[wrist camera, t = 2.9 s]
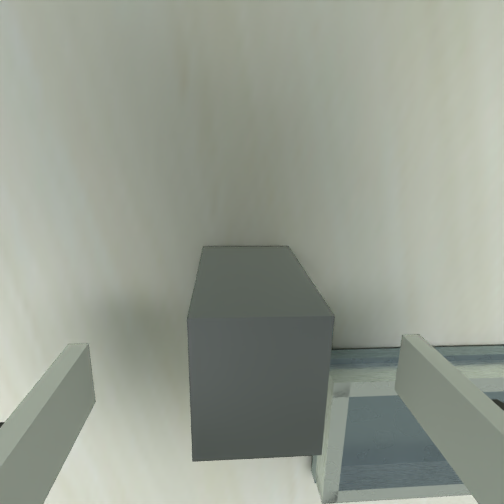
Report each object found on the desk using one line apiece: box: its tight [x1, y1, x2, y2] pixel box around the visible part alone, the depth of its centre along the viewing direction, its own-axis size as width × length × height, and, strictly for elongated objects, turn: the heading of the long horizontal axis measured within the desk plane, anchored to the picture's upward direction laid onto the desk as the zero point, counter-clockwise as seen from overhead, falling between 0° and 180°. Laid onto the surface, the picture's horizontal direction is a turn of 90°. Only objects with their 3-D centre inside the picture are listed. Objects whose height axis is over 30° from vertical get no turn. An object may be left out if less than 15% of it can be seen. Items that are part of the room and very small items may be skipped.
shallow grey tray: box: [311, 346, 504, 504], centre depth 23 cm, size 10×20×3 cm, turn 89°
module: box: [187, 246, 334, 461], centre depth 17 cm, size 6×5×9 cm
